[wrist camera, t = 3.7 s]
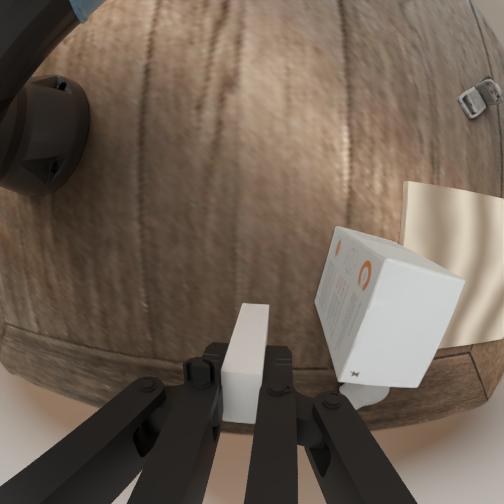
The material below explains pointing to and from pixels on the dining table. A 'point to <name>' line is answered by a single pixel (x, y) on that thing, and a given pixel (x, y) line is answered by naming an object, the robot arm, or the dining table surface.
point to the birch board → (461, 253)
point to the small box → (383, 309)
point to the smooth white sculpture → (363, 394)
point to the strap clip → (480, 97)
